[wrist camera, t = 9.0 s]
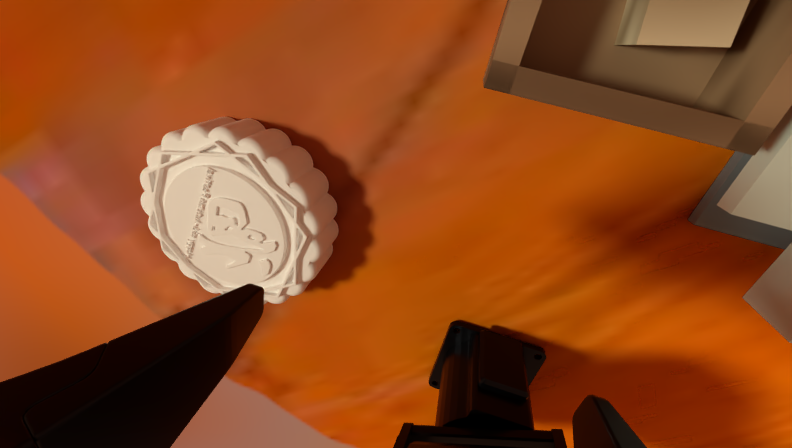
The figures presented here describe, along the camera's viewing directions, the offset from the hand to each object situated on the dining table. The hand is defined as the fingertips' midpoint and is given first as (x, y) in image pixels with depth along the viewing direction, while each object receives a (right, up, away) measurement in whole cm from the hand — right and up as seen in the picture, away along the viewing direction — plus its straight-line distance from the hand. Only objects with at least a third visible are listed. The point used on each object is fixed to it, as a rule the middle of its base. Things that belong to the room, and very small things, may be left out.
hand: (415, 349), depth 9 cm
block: (+10, +12, +5) cm, 16 cm away
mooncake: (-10, +5, +14) cm, 18 cm away
